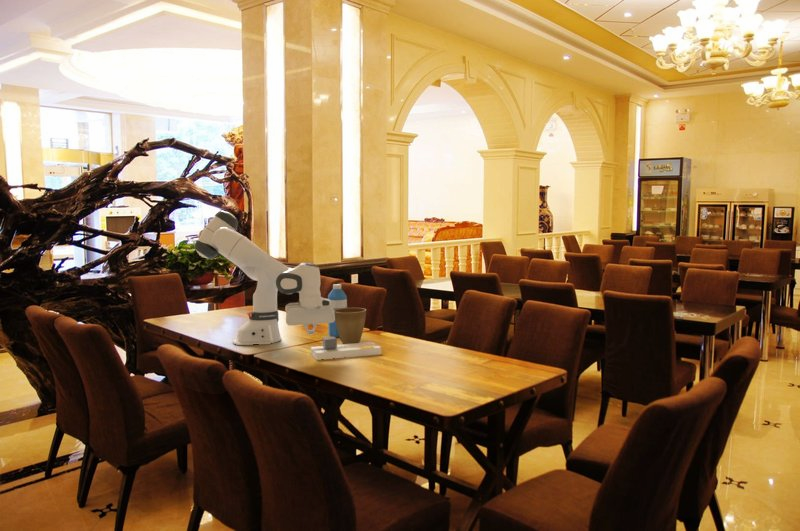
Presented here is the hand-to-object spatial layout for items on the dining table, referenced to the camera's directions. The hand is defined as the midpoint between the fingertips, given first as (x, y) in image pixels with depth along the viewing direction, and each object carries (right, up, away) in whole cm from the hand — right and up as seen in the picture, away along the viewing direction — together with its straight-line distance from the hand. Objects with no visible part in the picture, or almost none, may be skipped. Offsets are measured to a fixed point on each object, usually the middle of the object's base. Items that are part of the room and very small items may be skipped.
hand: (310, 334), depth 260 cm
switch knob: (+7, -8, +4) cm, 11 cm away
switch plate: (+14, -9, +6) cm, 18 cm away
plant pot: (+14, -8, +25) cm, 30 cm away
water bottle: (+7, -6, +47) cm, 48 cm away
